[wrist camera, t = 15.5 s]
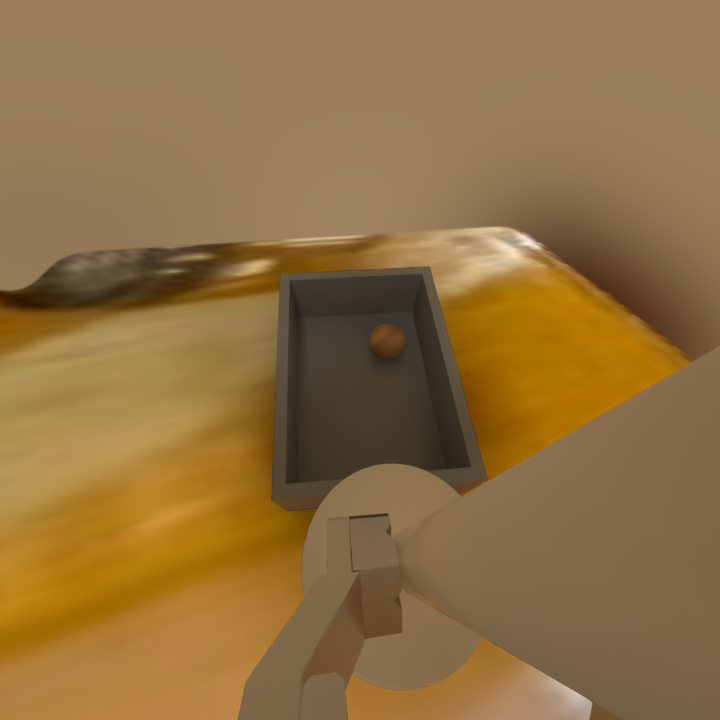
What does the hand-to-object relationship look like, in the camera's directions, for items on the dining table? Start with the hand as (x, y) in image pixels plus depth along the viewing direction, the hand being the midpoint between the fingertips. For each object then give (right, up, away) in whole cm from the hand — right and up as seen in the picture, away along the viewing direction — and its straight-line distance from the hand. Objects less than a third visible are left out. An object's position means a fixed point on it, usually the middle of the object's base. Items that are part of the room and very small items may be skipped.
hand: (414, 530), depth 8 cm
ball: (+1, +6, +21) cm, 22 cm away
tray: (-1, +1, +21) cm, 21 cm away
